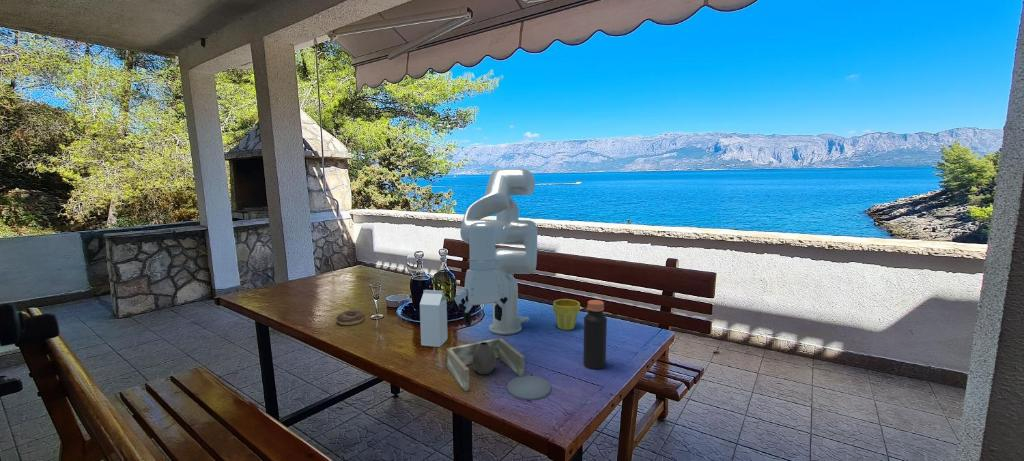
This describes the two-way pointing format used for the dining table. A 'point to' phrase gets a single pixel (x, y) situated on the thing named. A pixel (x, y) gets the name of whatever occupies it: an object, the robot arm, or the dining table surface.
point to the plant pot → (566, 313)
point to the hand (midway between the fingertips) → (483, 322)
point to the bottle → (595, 335)
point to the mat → (529, 387)
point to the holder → (464, 356)
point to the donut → (350, 317)
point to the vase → (484, 358)
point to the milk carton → (433, 318)
